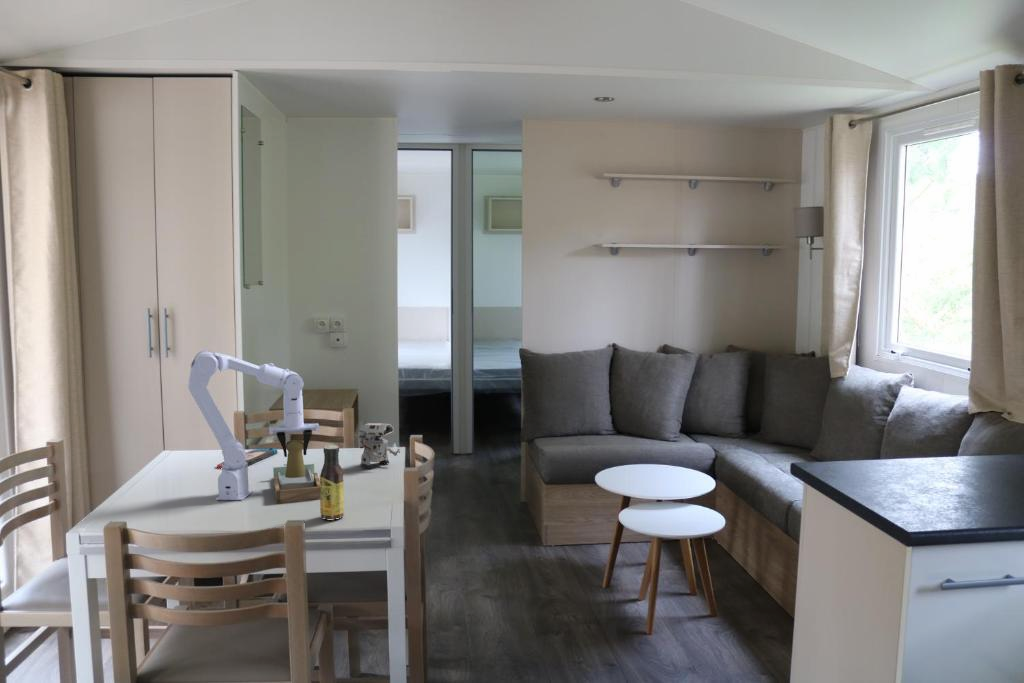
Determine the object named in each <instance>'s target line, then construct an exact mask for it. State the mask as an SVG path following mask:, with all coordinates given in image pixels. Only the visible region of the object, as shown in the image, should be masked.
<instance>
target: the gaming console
mask: <svg viewBox="0 0 1024 683" xmlns="http://www.w3.org/2000/svg"><path fill="white" fill-rule="evenodd" d="M274 454H276V455H277V454H278V449H277V448H273V447H269V448H257V449H253V450H250V451H247V452H246V455H247V458H246V461H245V462H247V465H248V466H250V465H252V464H255V463H258V462H260V461H263V460H264V459H266V458H269V457H271V456H273V455H274ZM223 463H224V461H222V462H220V463H218V464H216V468H217V469H218V468H222V464H223Z"/></svg>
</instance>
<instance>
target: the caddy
mask: <svg viewBox="0 0 1024 683" xmlns="http://www.w3.org/2000/svg"><path fill="white" fill-rule="evenodd" d="M313 480H314V487H309V488H299V489H289V490H280V484H279V478H278V477H274V476H273V482H274V483H273V484H274V485H273V486H274V492H275V499H276V500H275V501H276V504H286V503H285V502H287V503H292V502H291V501H297V502H300V501H299V500H306V501H308V500H307V499H316V498H320V477H319V475H318V472H314V474H313ZM316 500H317V499H316Z"/></svg>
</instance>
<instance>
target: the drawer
mask: <svg viewBox="0 0 1024 683" xmlns="http://www.w3.org/2000/svg"><path fill="white" fill-rule="evenodd" d="M286 466H287V463H285V464H283V465H279V466H273V467H272V469H273V470H272V471H273V472H272V473H273V474H272V475H273V478H274V477H278V483H279V485H280V490H289V489H299V488H309V487H314V476H313V475H314V473H315V463H314V462H313V463H312V462H311V463H310V462H309V463H304V468H305V475H306V476H305V477H299V478H286V477H285V475H286Z"/></svg>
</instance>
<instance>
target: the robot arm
mask: <svg viewBox="0 0 1024 683" xmlns="http://www.w3.org/2000/svg"><path fill="white" fill-rule="evenodd" d="M218 370H219V371H220V372H223V371H227V370H233V371H236V372H239V373H243V374H247V375H251V376H255V377H256V379H257V381H258V382H259V383H262V384H265V385H268V386H271V387H274V388H279V389H280V388H283V397H282V398H283V399H282V401H283V402H282V403H283V425H282V424H281V425H276V426H268V427H269V430H268V431H269V432H268V433H269V435H274V434H275V435H276V437H277V439H278V441H279V443H280V445H281V448H282V451H283V456H284V458H288V450H287V448H286V444H287V440H286V439H287V438H286V436H287V435H286V434H287V433H289V434H290V433H298V432H299V433H301V432H302V437H303V440H302V442H303V444H304V448H303V450H302V455H303V456H307V451H308V447H309V443H310V440H311V438H312V436H313V431H315V432H318V431H319V430H320V424H319V423H318V422H317V423H316V422H315V423H304V422H305V421H304V402H303V401H304V400H303V399H304V398H303V387H304V385H305V383H304V380H303V378H302V376H300V375H299V374H298V372H295V371H293V370H290V369H289V368H285V369H284V368H282V367H281V368H280V367H278V366H275V364H274V363H272V362H269V363H264V364H261V365H257V364H254V363H251V362H249V361H246V360H243V359H240V358H237V357H235V356H231V355H228V354H225V353H220V352H212V351H210V350H201V351H199V352H198V353H196V355H195V356H194V359H193V360H192V362H191V364H190V371H189V379H188V390H189V392H190V395H192V398H193V400H194V401H195V403H196V405H197V406H198V409H199V410H200V411H201V414H202V416H203V417H204V420H205V421H206V423H207V425H208V427H209V428H210V429H211V432H212V433H213V436H214V437H215V438H216V439H215V440H217V443H218V445H219V447H220V449H221V454H222V456H223V462H224V463H223V464H222V469H221V473H220V474H219V476H218V478H217V487H218V488H217V489H218V496H217V497H216V498H215V501H220V500H221V501H243V500H244V499H246V497H248V496H249V495H251V494H253V492H254V490H255V489H253V488H249V487H250V486H249V470H248V469H249V467H248V466H249V465H247V462H245V461H246V458H247V455H246V453H247V452H246V451H245V447H244V444H242V443H241V442H240V441H239V440H237V439H236V437H235V436H234V434H233V433H232V431H231V429H230V427H229V426H228V423H227V422H226V420H225V418H224V416H223V415H222V412H221V410H220V409H219V407H218V405H217V404H216V402H215V400H214V398H213V396H212V395H211V393H210V391H209V389H208V386H209V385H208V384H209V382H210V380H211V378H212V376H213V375H215V373H216V372H217V371H218Z"/></svg>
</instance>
